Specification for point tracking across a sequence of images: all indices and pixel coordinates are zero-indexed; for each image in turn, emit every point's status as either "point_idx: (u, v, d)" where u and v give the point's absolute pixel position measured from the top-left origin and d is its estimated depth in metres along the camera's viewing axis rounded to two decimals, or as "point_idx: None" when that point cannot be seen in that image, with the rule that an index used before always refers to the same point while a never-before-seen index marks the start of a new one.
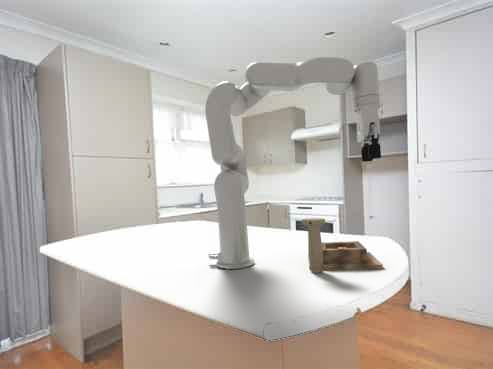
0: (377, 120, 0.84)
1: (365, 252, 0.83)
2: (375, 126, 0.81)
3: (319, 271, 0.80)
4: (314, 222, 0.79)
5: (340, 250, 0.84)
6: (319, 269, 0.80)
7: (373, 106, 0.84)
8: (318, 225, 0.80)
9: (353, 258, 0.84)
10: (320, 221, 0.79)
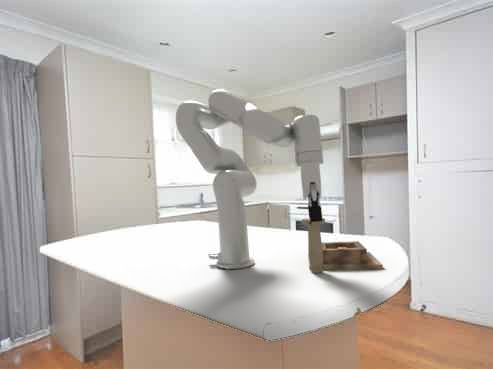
0: (317, 179, 0.77)
1: (365, 252, 0.83)
2: (313, 188, 0.74)
3: (319, 271, 0.80)
4: (314, 222, 0.79)
5: (340, 250, 0.84)
6: (319, 269, 0.80)
7: (313, 164, 0.78)
8: (318, 225, 0.80)
9: (353, 258, 0.84)
10: (320, 221, 0.79)
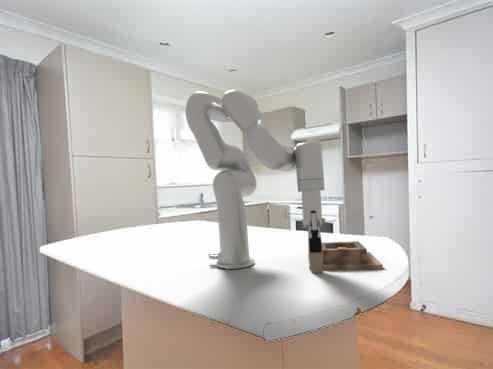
0: (318, 208, 0.77)
1: (365, 252, 0.83)
2: (314, 225, 0.76)
3: (319, 271, 0.80)
4: None
5: (340, 250, 0.84)
6: (319, 269, 0.80)
7: (314, 193, 0.78)
8: None
9: (353, 258, 0.84)
10: None
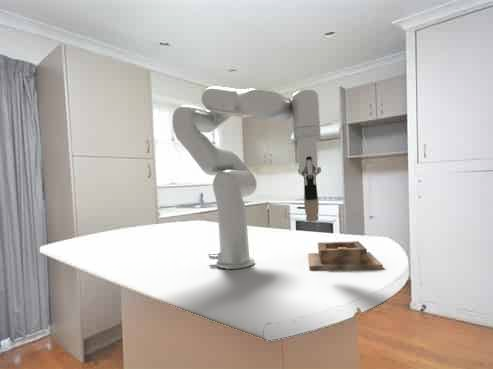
0: (314, 154, 0.77)
1: (365, 252, 0.83)
2: (310, 170, 0.76)
3: (314, 219, 0.81)
4: None
5: (340, 250, 0.84)
6: (314, 217, 0.81)
7: (310, 139, 0.78)
8: None
9: (353, 258, 0.84)
10: None
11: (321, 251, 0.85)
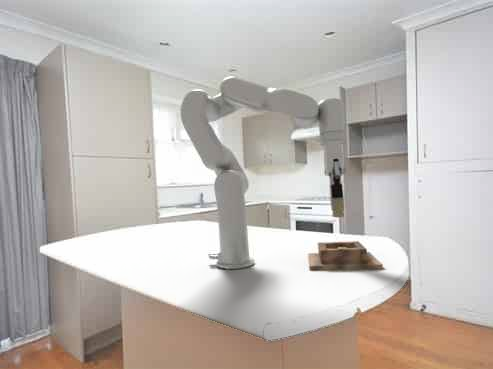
0: (340, 156, 0.86)
1: (365, 252, 0.83)
2: (337, 170, 0.84)
3: (340, 215, 0.89)
4: None
5: (340, 250, 0.84)
6: (340, 213, 0.89)
7: (336, 143, 0.86)
8: None
9: (353, 258, 0.84)
10: None
11: (321, 251, 0.85)
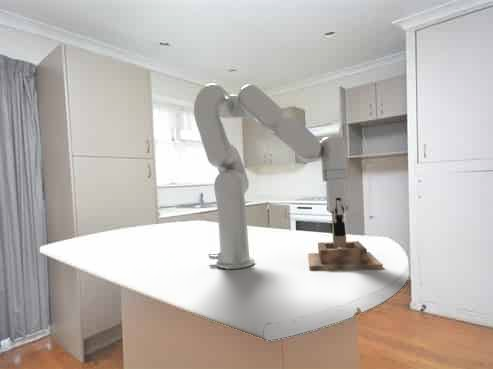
0: (343, 195, 0.85)
1: (365, 252, 0.83)
2: (340, 210, 0.84)
3: None
4: None
5: (340, 250, 0.84)
6: None
7: (339, 182, 0.86)
8: None
9: (353, 258, 0.84)
10: None
11: (321, 251, 0.85)
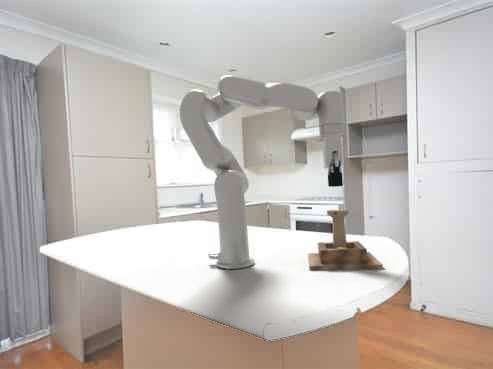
0: (339, 149, 0.86)
1: (365, 252, 0.83)
2: (336, 156, 0.83)
3: None
4: (339, 212, 0.88)
5: (340, 250, 0.84)
6: None
7: (336, 135, 0.86)
8: (342, 215, 0.88)
9: (353, 258, 0.84)
10: (345, 211, 0.88)
11: (321, 251, 0.85)
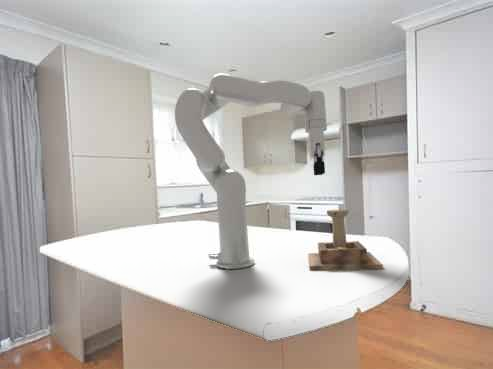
0: (322, 141, 0.98)
1: (365, 252, 0.83)
2: (319, 147, 0.96)
3: None
4: (339, 213, 0.88)
5: (340, 250, 0.84)
6: None
7: (318, 129, 0.99)
8: (342, 216, 0.88)
9: (353, 258, 0.84)
10: (345, 212, 0.87)
11: (321, 251, 0.85)
